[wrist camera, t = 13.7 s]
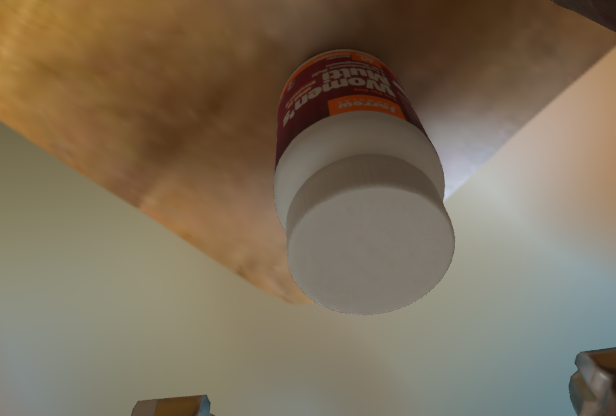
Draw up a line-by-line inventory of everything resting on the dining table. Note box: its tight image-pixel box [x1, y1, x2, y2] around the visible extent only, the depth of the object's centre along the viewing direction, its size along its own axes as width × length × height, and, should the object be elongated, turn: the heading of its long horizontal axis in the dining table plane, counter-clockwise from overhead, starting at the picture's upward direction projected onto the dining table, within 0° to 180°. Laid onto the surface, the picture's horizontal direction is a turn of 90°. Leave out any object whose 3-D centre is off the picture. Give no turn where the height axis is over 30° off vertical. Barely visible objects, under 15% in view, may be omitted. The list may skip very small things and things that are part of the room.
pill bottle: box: [273, 49, 455, 315], centre depth 20 cm, size 6×6×11 cm
